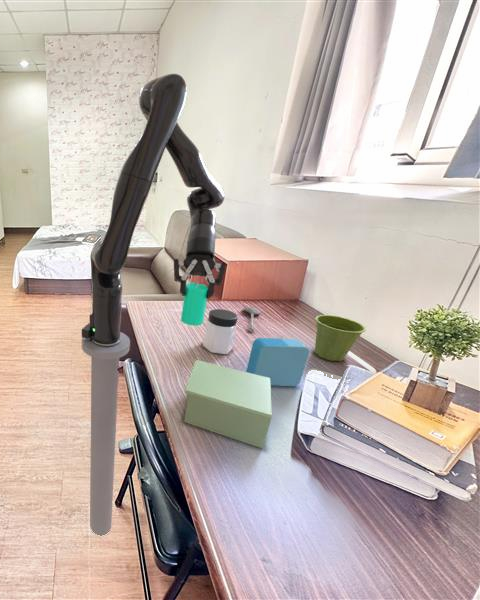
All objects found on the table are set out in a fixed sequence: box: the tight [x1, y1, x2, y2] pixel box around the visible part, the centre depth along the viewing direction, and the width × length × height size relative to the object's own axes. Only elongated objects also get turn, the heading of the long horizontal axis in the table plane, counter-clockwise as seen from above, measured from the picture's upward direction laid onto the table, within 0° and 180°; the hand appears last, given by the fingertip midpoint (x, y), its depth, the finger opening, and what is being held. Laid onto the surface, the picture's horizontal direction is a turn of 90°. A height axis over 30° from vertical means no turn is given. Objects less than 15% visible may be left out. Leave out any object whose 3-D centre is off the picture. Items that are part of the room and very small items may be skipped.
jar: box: [202, 308, 239, 355], centre depth 98 cm, size 9×8×12 cm
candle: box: [180, 280, 208, 327], centre depth 85 cm, size 6×6×12 cm
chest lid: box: [184, 359, 273, 419], centre depth 69 cm, size 16×14×1 cm
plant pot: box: [314, 314, 367, 362], centre depth 93 cm, size 12×12×11 cm
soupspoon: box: [242, 306, 262, 333], centre depth 119 cm, size 22×3×7 cm
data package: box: [245, 337, 310, 387], centre depth 82 cm, size 12×4×12 cm, turn 86°
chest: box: [183, 394, 272, 449], centre depth 71 cm, size 16×14×8 cm
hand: (196, 295), depth 83 cm, fingers closed on candle, 6 cm apart
